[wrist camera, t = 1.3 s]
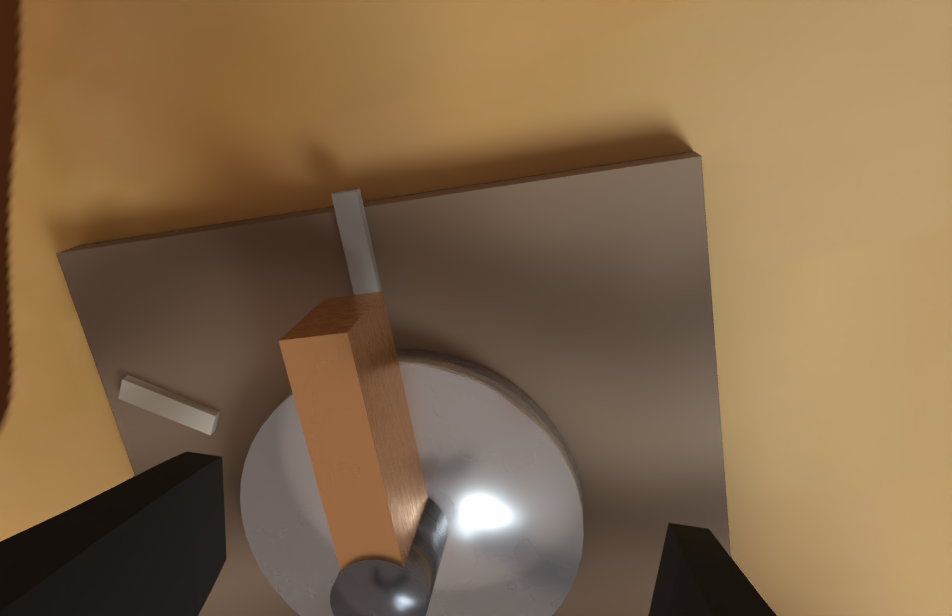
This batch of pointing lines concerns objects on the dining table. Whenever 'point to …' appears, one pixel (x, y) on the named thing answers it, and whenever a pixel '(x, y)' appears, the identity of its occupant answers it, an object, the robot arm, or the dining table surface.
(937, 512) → the dining table surface
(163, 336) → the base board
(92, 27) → the dining table surface
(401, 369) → the dial
